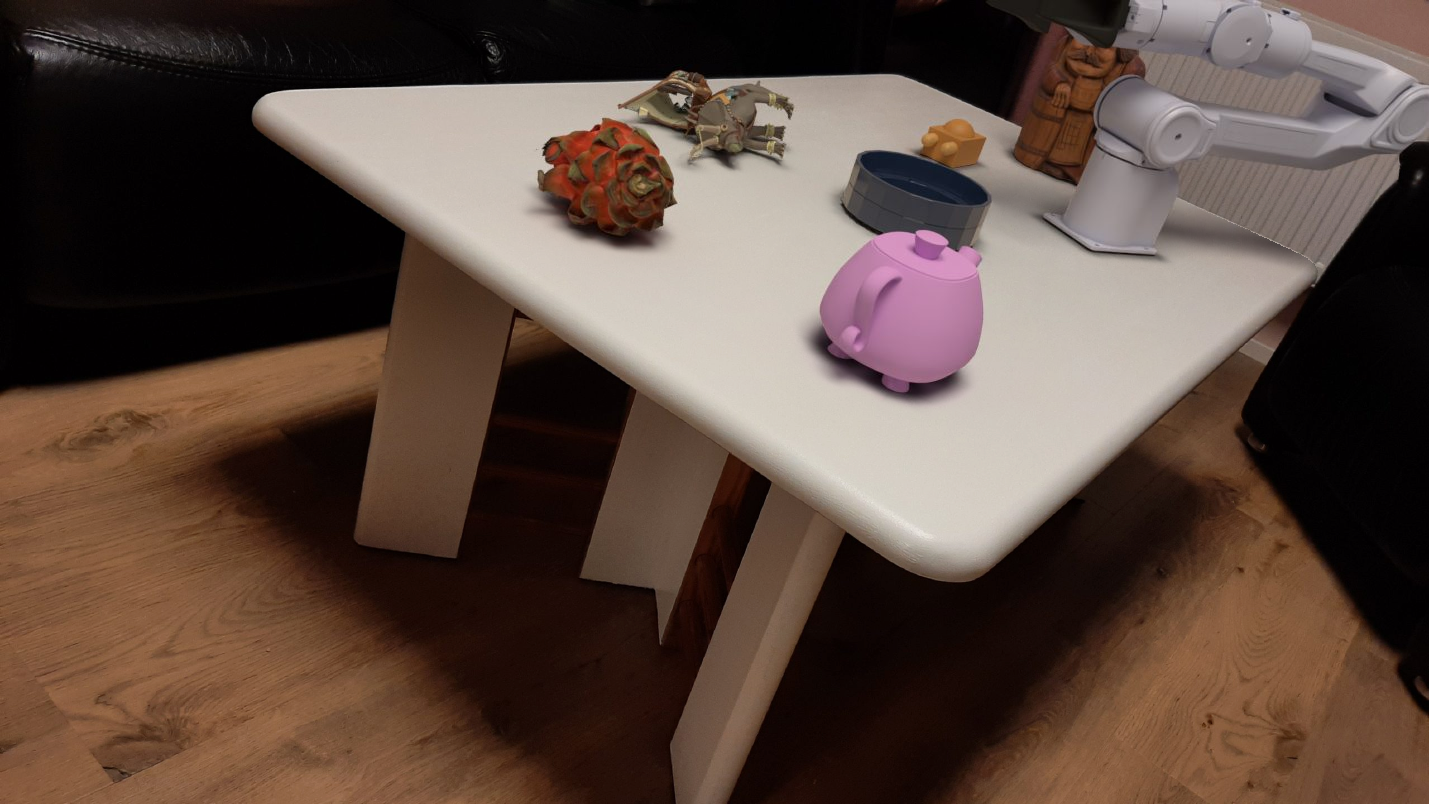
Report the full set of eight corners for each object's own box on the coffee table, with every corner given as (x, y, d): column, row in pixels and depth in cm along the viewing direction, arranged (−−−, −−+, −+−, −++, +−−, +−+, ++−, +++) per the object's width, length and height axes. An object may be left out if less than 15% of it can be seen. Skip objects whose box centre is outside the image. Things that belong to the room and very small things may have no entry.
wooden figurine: (998, 155, 127) (1058, 5, 118) (1016, 149, 132) (1075, 4, 123) (1088, 192, 123) (1158, 39, 114) (1103, 184, 128) (1171, 37, 119)
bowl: (925, 199, 104) (940, 156, 102) (1000, 257, 95) (1019, 211, 93) (817, 189, 99) (832, 144, 96) (886, 250, 89) (904, 201, 87)
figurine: (799, 135, 93) (614, 90, 92) (781, 197, 96) (603, 154, 95) (796, 69, 110) (639, 30, 108) (781, 124, 113) (629, 86, 111)
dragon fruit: (653, 281, 76) (536, 236, 82) (717, 200, 79) (599, 163, 85) (616, 199, 69) (491, 156, 75) (687, 114, 72) (561, 80, 78)
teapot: (769, 345, 68) (810, 214, 64) (887, 303, 79) (929, 188, 75) (898, 425, 63) (952, 290, 59) (1004, 368, 74) (1057, 251, 70)
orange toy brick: (945, 149, 123) (959, 111, 121) (976, 163, 121) (991, 125, 119) (911, 154, 118) (925, 115, 115) (944, 169, 116) (959, 129, 113)
